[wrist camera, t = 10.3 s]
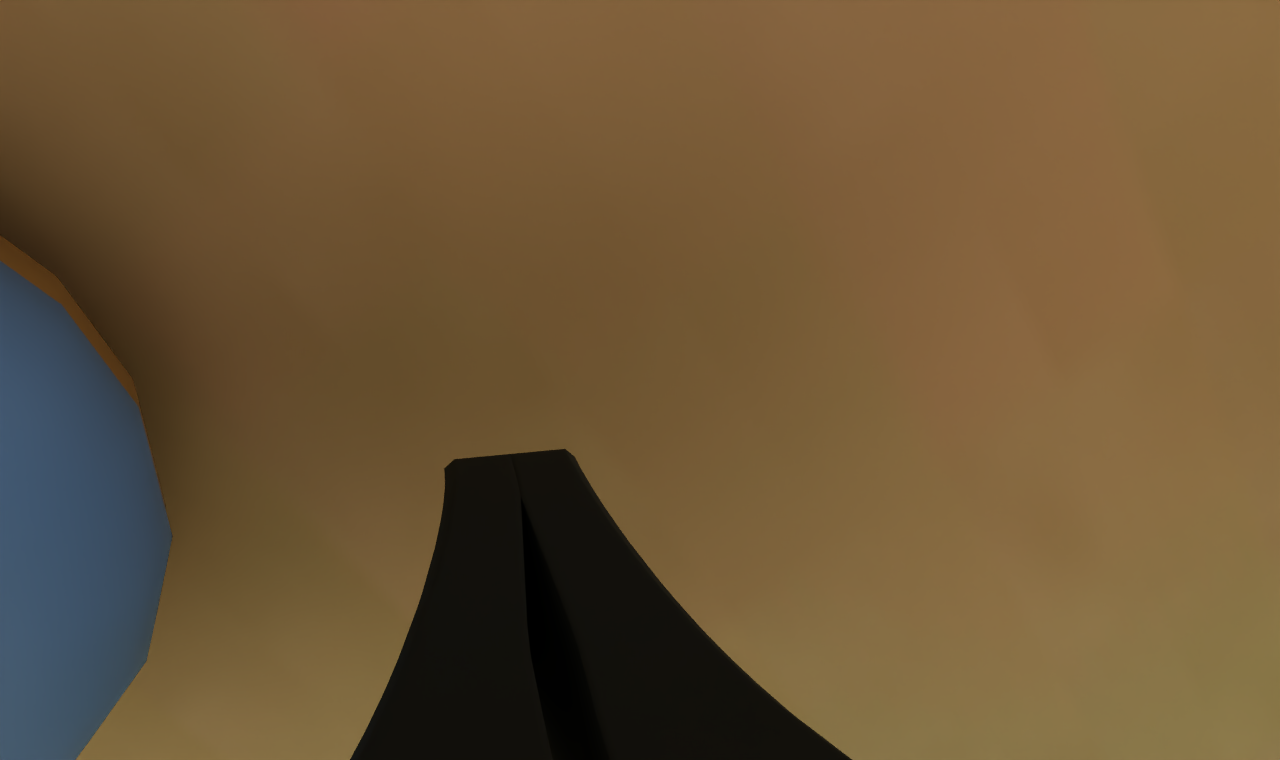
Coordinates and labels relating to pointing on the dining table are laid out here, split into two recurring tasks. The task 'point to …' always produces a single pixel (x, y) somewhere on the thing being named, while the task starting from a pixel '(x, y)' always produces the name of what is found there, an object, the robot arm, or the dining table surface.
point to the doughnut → (69, 520)
